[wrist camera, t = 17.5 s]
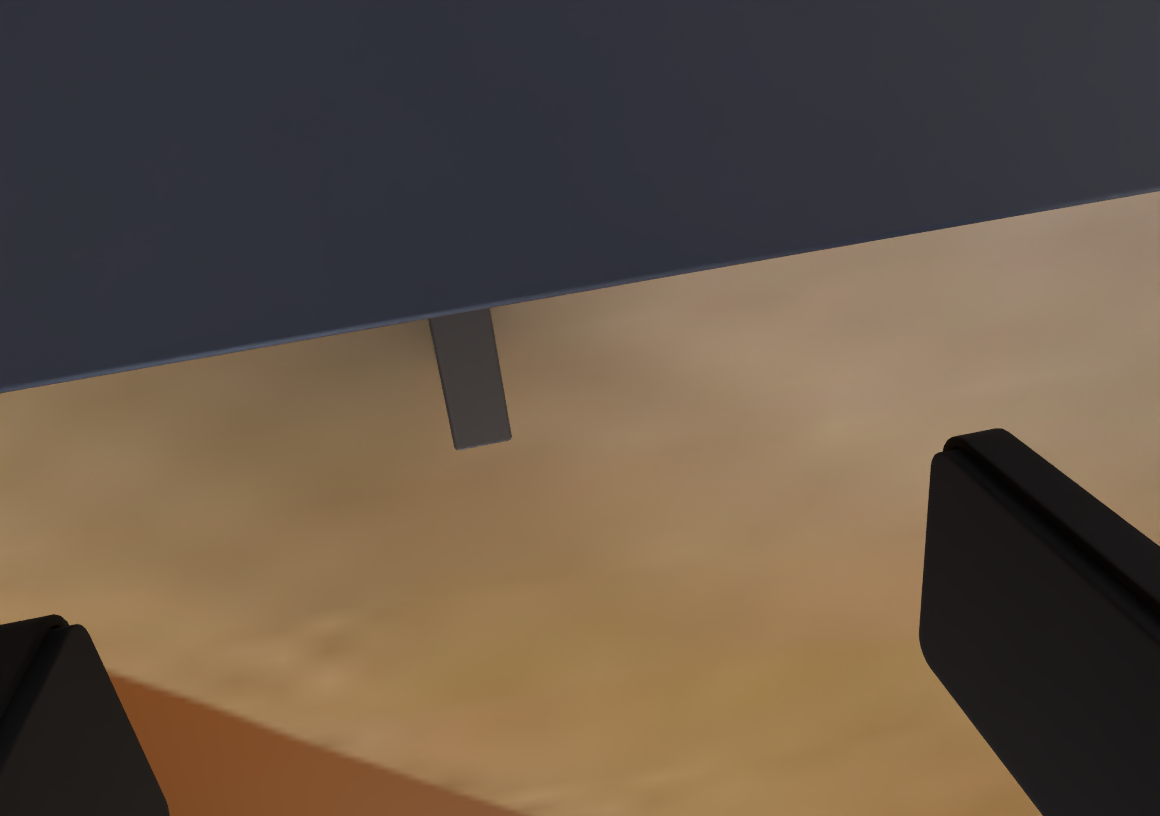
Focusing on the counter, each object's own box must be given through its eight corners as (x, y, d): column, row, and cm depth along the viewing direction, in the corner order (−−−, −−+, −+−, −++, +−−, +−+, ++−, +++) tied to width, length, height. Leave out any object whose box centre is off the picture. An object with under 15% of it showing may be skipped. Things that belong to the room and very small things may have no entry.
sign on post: (167, -252, 17) (78, -349, 12) (523, -288, 18) (570, -392, 13) (334, 389, 23) (318, 494, 18) (597, 341, 23) (649, 431, 19)
